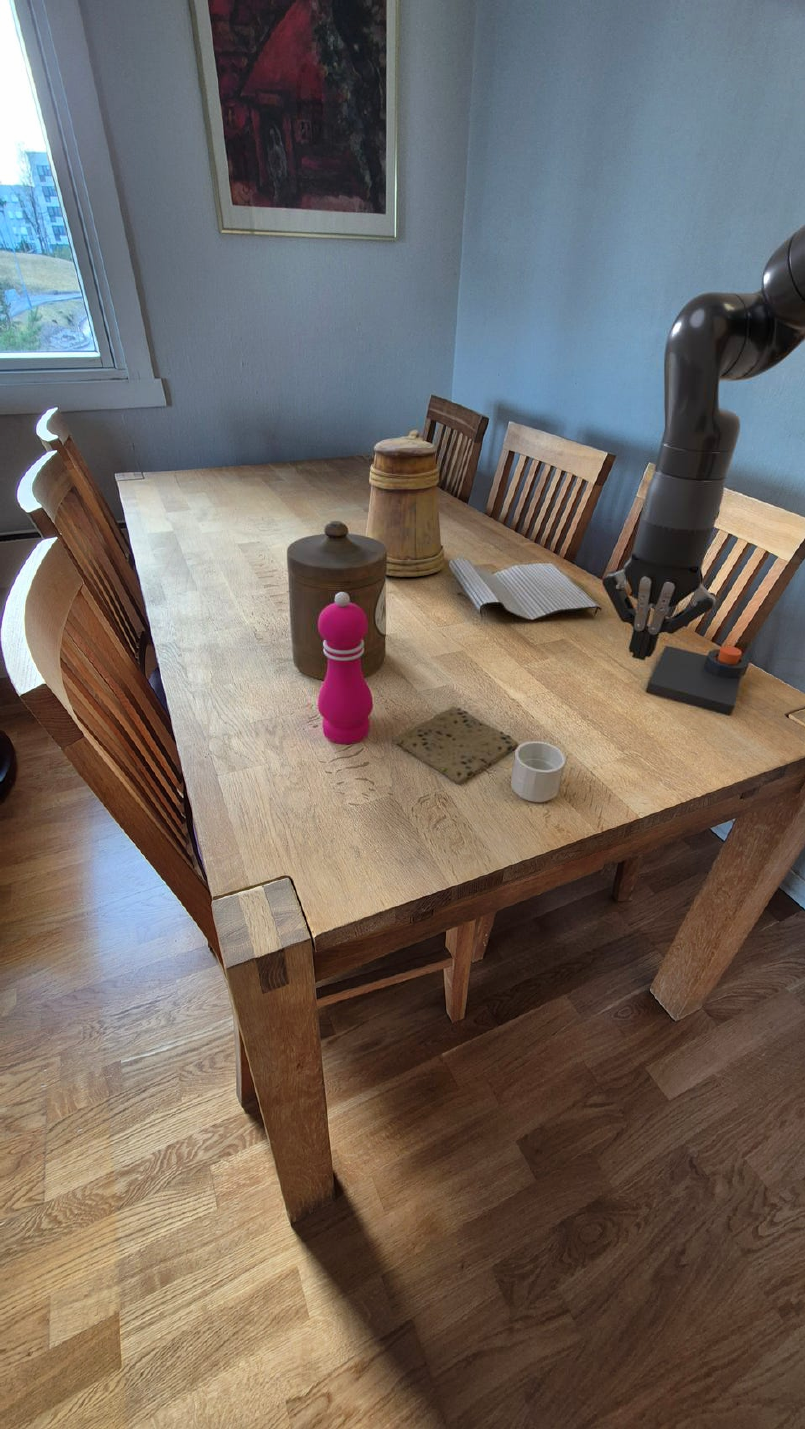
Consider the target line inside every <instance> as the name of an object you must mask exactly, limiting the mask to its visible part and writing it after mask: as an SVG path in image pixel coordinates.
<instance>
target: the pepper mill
mask: <svg viewBox="0 0 805 1429" xmlns="http://www.w3.org/2000/svg"><path fill="white" fill-rule="evenodd" d="M349 601H350V598H349V596H348V594H347V593H345V592H339V593H338V594H337V595H336V596H335V603H333V604H330V605H328V606H327V607H326V608H325V609H324V610H323V611H322V612H321V614H320V616H319V620H318V629H319V632H320V635H321V636H322V638H323V639H325V640H324V642H323V646H324V650H323V651H324V654H325V655H326V656H327V658H328V670H327V674H326V678H325V680H323V682H322V685H321V687H320V690H319V694H318V698H317V708H318V713H319V714H320V716H321V717H322V718H323V719H322V732H323V735H324V737H325V738H327V739H328V740H329V741H331V742H333V743H336V744H340V745H348V744H354V743H355V744H356V743H357V742H360V741H362V740H364V739H365V738H366V737H368V735H369V733H370V717H369V716H370V715H371V713H372V712H373V708H374V702H373V700H374V699H373V694H372V691H371V688H370V687H369V685H368V683H367V681H366V679H365V677H363V674H362V671H361V663H360V657H361V655H362V654H363V652H364V648H363V646H364V641H363V640H362V639H363V638H364V636H365V635H366V633H367V629H368V622H367V617H366V615H365V613H364V611H363V610H362V609H361V608H360V607H359V606H357V605H355V604H353V603H349Z"/></svg>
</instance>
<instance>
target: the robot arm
mask: <svg viewBox="0 0 805 1429" xmlns="http://www.w3.org/2000/svg"><path fill="white" fill-rule="evenodd" d="M804 341H805V224H804V225H802V226H801V227H800V228H799V229H798V230H797V231H795V232H794V233H793V234H792V235H790V236H789V237H788V238H787V239H786V240H785V241H784V242H782V244H780V246H778V248H776V250H775V251H774V252H773V253H772V254H771V256H770V257H769V259H768V260H767V262H766V263H765V266H764V268H763V271H762V276H761V289H760V290H758V291H756V292H753V293H750V292H749V293H748V292H747V293H746V292H721V291H720V292H719V291H715V292H711V291H710V292H705V293H701V294H699V295H697V296H695V297H693V298H692V299H691V300H689V301H688V302H687V303H686V304H685V305H684V306H683V307H682V309H681V310H680V311H679V312H678V314H677V315H676V318H675V319H674V321H673V323H672V325H671V328H670V330H669V332H668V335H667V339H666V341H665V342H666V343H665V348H664V356H663V357H664V358H663V382H664V383H663V384H664V388H663V391H664V393H663V394H664V397H663V400H664V401H663V402H664V404H663V405H664V406H663V407H664V408H663V409H664V430H663V434H662V437H661V442H660V444H659V445H660V446H659V449H658V452H657V453H658V454H657V458H656V462H655V467H654V470H653V473H652V476H651V479H650V481H649V483H648V487H647V490H646V493H645V498H644V502H643V506H642V510H641V514H640V518H639V523H638V527H637V531H636V535H635V539H634V544H633V547H632V551H631V555H630V557H629V559H628V560H627V561H626V563H625V564H624V566H623V568H622V569H620V570H618V571H617V570H616V571H612V570H611V571H610V572H609V573H608V574H607V575H606V576H605V577H604V578H603V579H602V582H601V583H602V586H603V588H604V590H605V592H606V594H607V596H608V598H609V600H610V601H611V604H612V606H613V608H614V610H615V612H616V613H617V616H618V617H619V619H620V621H621V622H622V623H627V624H629V625H631V627H632V635H631V638H630V641H629V645H628V652H629V653H632V656H631V657H632V659H633V658H634V659H637V660H641V661H645V660H646V658H651V656H652V655H653V654H654V652H655V651H656V647H657V643H658V640H659V637H660V634H662V633H667V634H669V635H672V634H675V633H676V632H677V631H679V630H681V629H682V628H684V627H685V626H687V625H689V624H690V623H692V622H693V621H695V620H697V619H698V618H700V617H701V616H702V615H704V614H706V613H707V612H709V611H710V610H711V609H712V608H713V607H714V605H715V603H716V601H717V595H716V593H714V592H709V591H708V589H707V588H706V587H705V586H704V584H702V583H703V581H704V575H703V571H702V568H703V563H704V560H705V557H706V554H707V551H708V548H709V544H710V541H711V537H712V534H713V531H714V527H715V524H716V520H717V519H718V518H719V515H720V508H721V505H722V502H723V496H724V490H725V484H726V480H727V476H728V473H729V469H730V466H731V463H732V459H733V456H734V454H735V449H736V446H737V442H738V439H739V436H740V432H741V420H740V418H739V416H738V414H735V413H734V412H733V411H730V410H728V409H725V408H721V407H720V395H719V394H720V392H719V391H720V382H732V381H733V382H734V381H735V382H737V381H744V380H749V379H752V378H754V377H757V376H760V375H762V374H764V373H766V372H769V370H771V369H773V368H774V367H776V366H778V365H779V364H780V363H781V362H782V361H784V360H785V359H786V358H787V357H789V356H790V355H791V354H792V353H793V352H794V351H795V350H796V349H797V348H798V347H799V346H801V344H803V343H804ZM627 583H628V585H629V588H630V589H631V592H632V594H633V596H634V597H635V599H636V606H634V603H633V601H632V600H631V598H630V596H629V594H628V592H627V590H626V588H625V587H626V586H627ZM691 594H693V595H692V597H691V599H690V600H689V605H687V607H685V608H684V609H681V611H679V612H678V613H676V614H674V615H673V616H671V617H667V616H668V613H669V610H670V608H671V607H675V606H677V605H678V604H679V603H681V602H682V601H683V600H685V599H686V598H688V597H689V596H691ZM653 605H655V608H654V611H653V614H652V618H651V619H650V617H651V611H652V607H653ZM650 620H651V621H650ZM649 622H650V623H649ZM648 623H649V625H648Z"/></svg>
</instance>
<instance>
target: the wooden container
mask: <svg viewBox="0 0 805 1429" xmlns="http://www.w3.org/2000/svg"><path fill="white" fill-rule="evenodd" d="M323 532H324V533H320V534H313V535H308V536H305V537H301V538H299V539H297V540H295V541H293V542H292V543H290V544H289V545H288V546H287V549H286V566H287V577H288V578H287V580H288V599H289V600H288V601H289V620H290V621H289V622H290V636H291V637H290V638H291V647H292V658H293V660H292V661H293V663H294V665H295V667H296V668H297V669H298V671H300V672H301V673H302V674H304V675H306V676H309V677H311V678H314V679H318V680H323V681H324V680H325V678H326V674H327V670H328V658H327V656H326V655H325V654H324V651H323V650H324V646H323V642H324V640H325V639H323V638H322V636H321V635H320V632H319V629H318V620H319V616H320V614H321V612H322V611H323V610H324V609H325V608H326V607H327V606H328V605H330V604H333V603H335V596H336V595H337V594H338V593H339V592H345V593H347V594H348V596H349V598H350V601H349V603H353V604H355V605H357V606H359V607H360V608H361V609H362V610H363V611H364V613H365V615H366V617H367V622H368V629H367V633H366V635H365V636H364V638H363V639H362V640H363V641H364V646H363V648H364V652H363V654H362V655H361V657H360V663H361V671H362V674H363V677H364V678H366V677H368V676H371V675H372V674H374V673H375V672H377V671H379V670H380V669H381V668H382V667H383V665H384V664H385V661H386V646H387V645H386V642H387V641H386V640H387V639H386V637H387V575H386V570H387V549H386V547H385V546H384V545H383V544H382V543H381V542H379V541H377V540H375V539H373V538H370V537H366V535H360V534H356V533H349V527H348V526H347V525H346V524H345V523H343V522H342V521H339V520H333V521H331V522H329V523H327V524H325V526H324V528H323Z"/></svg>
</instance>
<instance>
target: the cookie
mask: <svg viewBox="0 0 805 1429" xmlns="http://www.w3.org/2000/svg"><path fill="white" fill-rule="evenodd" d="M393 742H394V743H396V744H397V745H398V746H400V747H402V748H404V749H405V750H406V751H408V752H410V753H411V754H413V755H414V756H416V757H417V758H418V759H419V760H421V761H422V762H423V763H425V764H426V765H429V766H430V767H432V768H434V769H436V770H437V771H439V772H440V773H441V774H443V775H445V776H446V777H447V778H449V779H450V781H452V782H454V783H456V785H461V784H463V783H464V782H465V781H467V780H469V779H470V778H471V777H474V776H476V775H477V774H478V773H479V772H481V771H483V770H484V769H485V768H487V767H490V766H491V765H492V764H494V763H495V762H496V761H497V760H499V759H500V758H502V757H504V756H505V755H508V754H509V753H510V752H512V751H515V750H516V749H517V747H518V746H519V742H518V741H517V740H515V739H514V738H512V736H510V735H509V734H506V733H504V731H501V730H498V728H495V727H493V726H491V725H489V724H487V723H485V722H483V721H481V720H479V719H478V718H477V717H475V716H473V715H472V714H471V713H469V712H468V711H466V710H462V709H461V708H460V707H456V706H451V707H449V708H448V709H445V710H444V711H441V712H440V713H438V714H436V715H434V716H433V717H430V718H428V719H427V720H425V721H424V722H421V723H419V724H418V725H415V726H413V727H411V729H409V730H406V731H404V732H402V733H401V734H399V735H397V736H395V737H393Z"/></svg>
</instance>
